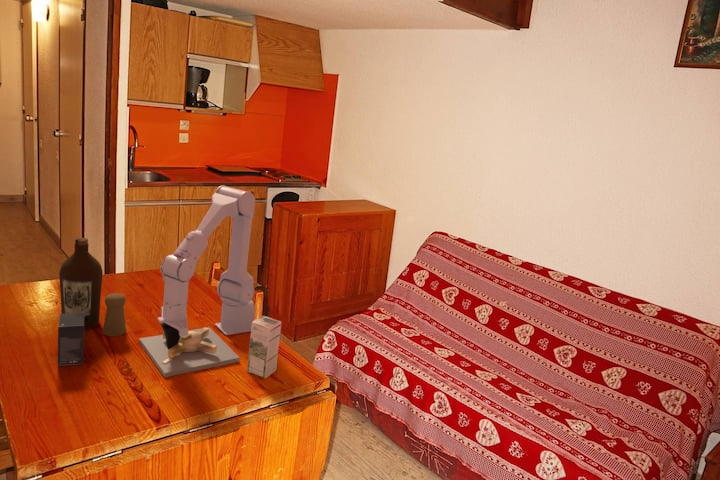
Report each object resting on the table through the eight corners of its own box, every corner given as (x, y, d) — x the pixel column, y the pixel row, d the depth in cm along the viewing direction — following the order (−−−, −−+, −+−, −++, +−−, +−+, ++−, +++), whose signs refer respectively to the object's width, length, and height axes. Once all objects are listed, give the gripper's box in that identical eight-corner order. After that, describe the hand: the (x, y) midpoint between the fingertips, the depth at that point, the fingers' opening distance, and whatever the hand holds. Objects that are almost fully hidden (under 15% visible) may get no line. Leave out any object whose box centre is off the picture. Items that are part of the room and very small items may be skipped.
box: (83, 364, 131) (84, 325, 128) (57, 366, 129) (57, 326, 126) (84, 349, 138) (84, 311, 135) (59, 351, 135) (59, 313, 133)
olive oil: (65, 314, 155) (65, 232, 148) (105, 316, 157) (107, 235, 151) (54, 331, 145) (53, 243, 138) (96, 332, 147) (98, 246, 141)
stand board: (209, 330, 158) (209, 326, 158) (239, 361, 143) (239, 356, 143) (139, 342, 145) (139, 337, 145) (164, 377, 131) (164, 372, 130)
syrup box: (276, 370, 142) (282, 320, 138) (264, 379, 136) (269, 327, 133) (259, 363, 144) (264, 314, 140) (245, 372, 138) (251, 321, 135)
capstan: (162, 338, 146) (162, 325, 145) (207, 335, 152) (208, 322, 151) (168, 360, 136) (169, 345, 135) (217, 355, 142) (218, 342, 141)
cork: (117, 337, 146) (118, 300, 143) (97, 333, 147) (98, 296, 144) (130, 329, 152) (132, 293, 149) (111, 324, 153) (112, 289, 150)
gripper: (150, 292, 139) (147, 339, 142) (169, 314, 128) (166, 365, 131) (177, 289, 143) (174, 335, 146) (197, 310, 132) (194, 359, 136)
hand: (172, 349), depth 139 cm, fingers closed, pressing on capstan
